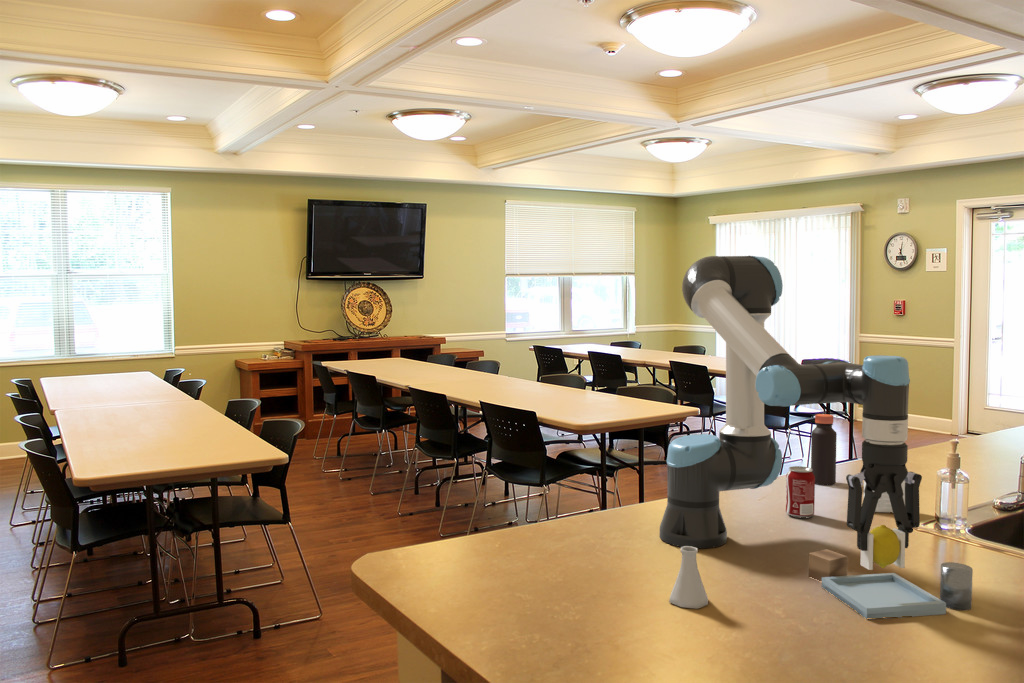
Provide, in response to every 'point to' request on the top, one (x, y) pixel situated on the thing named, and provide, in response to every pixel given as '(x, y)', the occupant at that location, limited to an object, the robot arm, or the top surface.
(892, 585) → the dish
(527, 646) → the top surface
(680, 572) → the flask
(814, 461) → the bottle
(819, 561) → the walnut block
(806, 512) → the soda can
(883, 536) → the lemon
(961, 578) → the grey tin
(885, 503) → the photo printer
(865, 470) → the robot arm
